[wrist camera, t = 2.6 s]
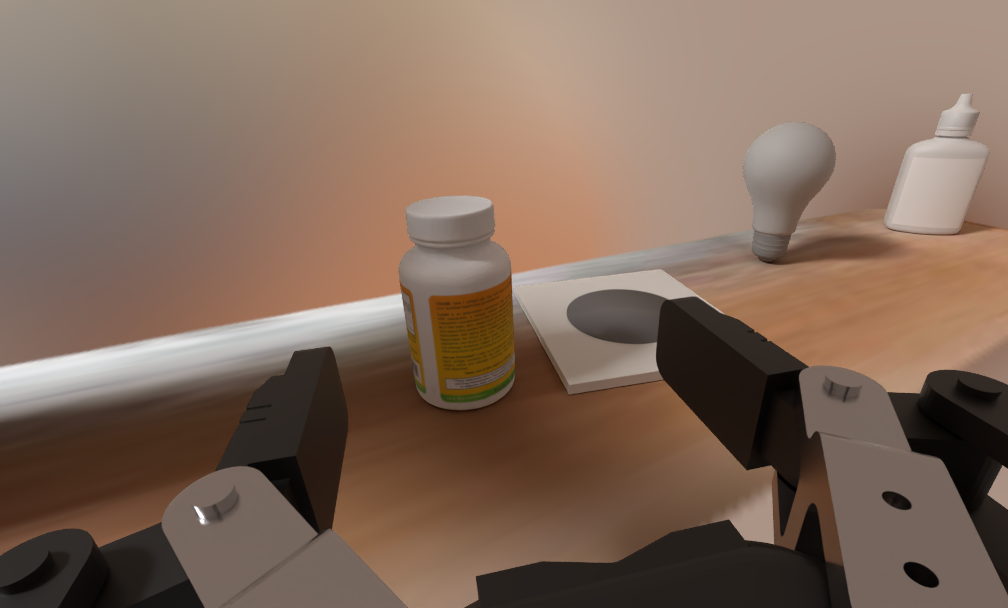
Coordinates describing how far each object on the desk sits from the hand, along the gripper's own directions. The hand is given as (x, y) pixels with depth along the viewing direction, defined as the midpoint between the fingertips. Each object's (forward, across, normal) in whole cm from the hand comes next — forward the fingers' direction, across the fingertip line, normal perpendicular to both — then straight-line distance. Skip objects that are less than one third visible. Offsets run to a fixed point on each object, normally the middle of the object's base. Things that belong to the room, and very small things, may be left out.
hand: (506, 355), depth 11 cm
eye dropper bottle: (+26, -46, +9) cm, 53 cm away
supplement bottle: (+12, 0, +9) cm, 15 cm away
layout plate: (+16, -11, +8) cm, 21 cm away
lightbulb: (+23, -27, +9) cm, 36 cm away
